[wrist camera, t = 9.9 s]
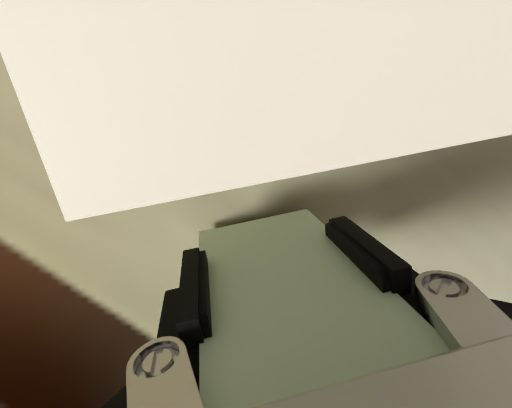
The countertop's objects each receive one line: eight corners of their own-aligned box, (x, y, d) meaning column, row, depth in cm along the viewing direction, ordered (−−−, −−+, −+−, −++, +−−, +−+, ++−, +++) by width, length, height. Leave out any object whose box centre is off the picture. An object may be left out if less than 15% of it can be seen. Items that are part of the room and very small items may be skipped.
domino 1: (292, 107, 13) (638, 109, 3) (175, 126, 12) (64, 222, 2) (288, 67, 13) (694, -114, 2) (166, 85, 12) (-38, -47, 2)
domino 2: (310, 239, 15) (584, 566, 4) (206, 263, 14) (228, 710, 4) (307, 208, 14) (610, 494, 4) (199, 231, 13) (199, 647, 3)
